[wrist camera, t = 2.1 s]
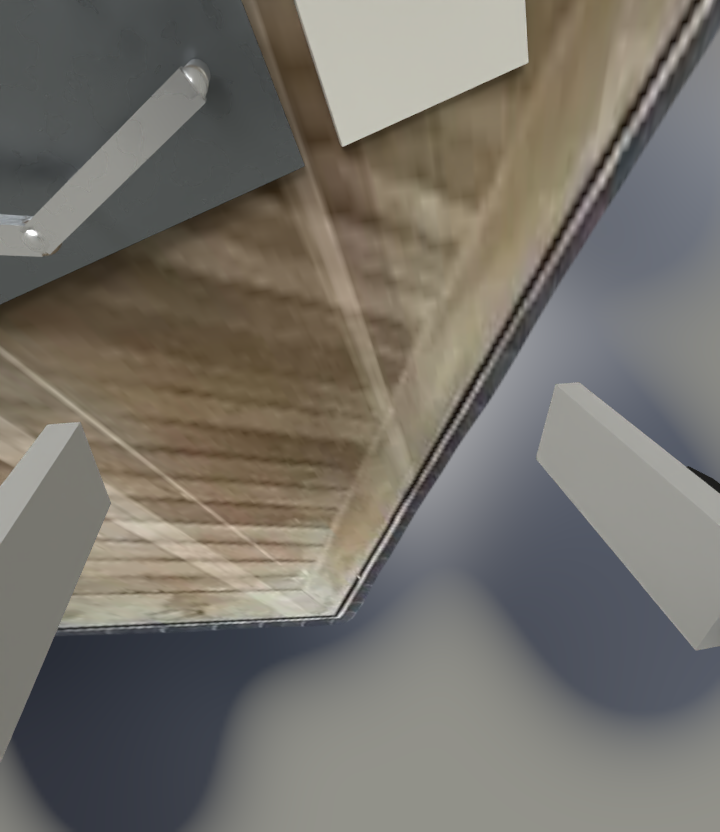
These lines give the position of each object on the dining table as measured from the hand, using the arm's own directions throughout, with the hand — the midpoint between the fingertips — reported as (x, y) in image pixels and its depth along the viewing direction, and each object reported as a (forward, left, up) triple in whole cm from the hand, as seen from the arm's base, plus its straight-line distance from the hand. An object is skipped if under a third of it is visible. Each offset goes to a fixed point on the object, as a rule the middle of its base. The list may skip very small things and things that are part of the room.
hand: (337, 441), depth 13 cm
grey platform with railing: (-8, -18, -28) cm, 34 cm away
